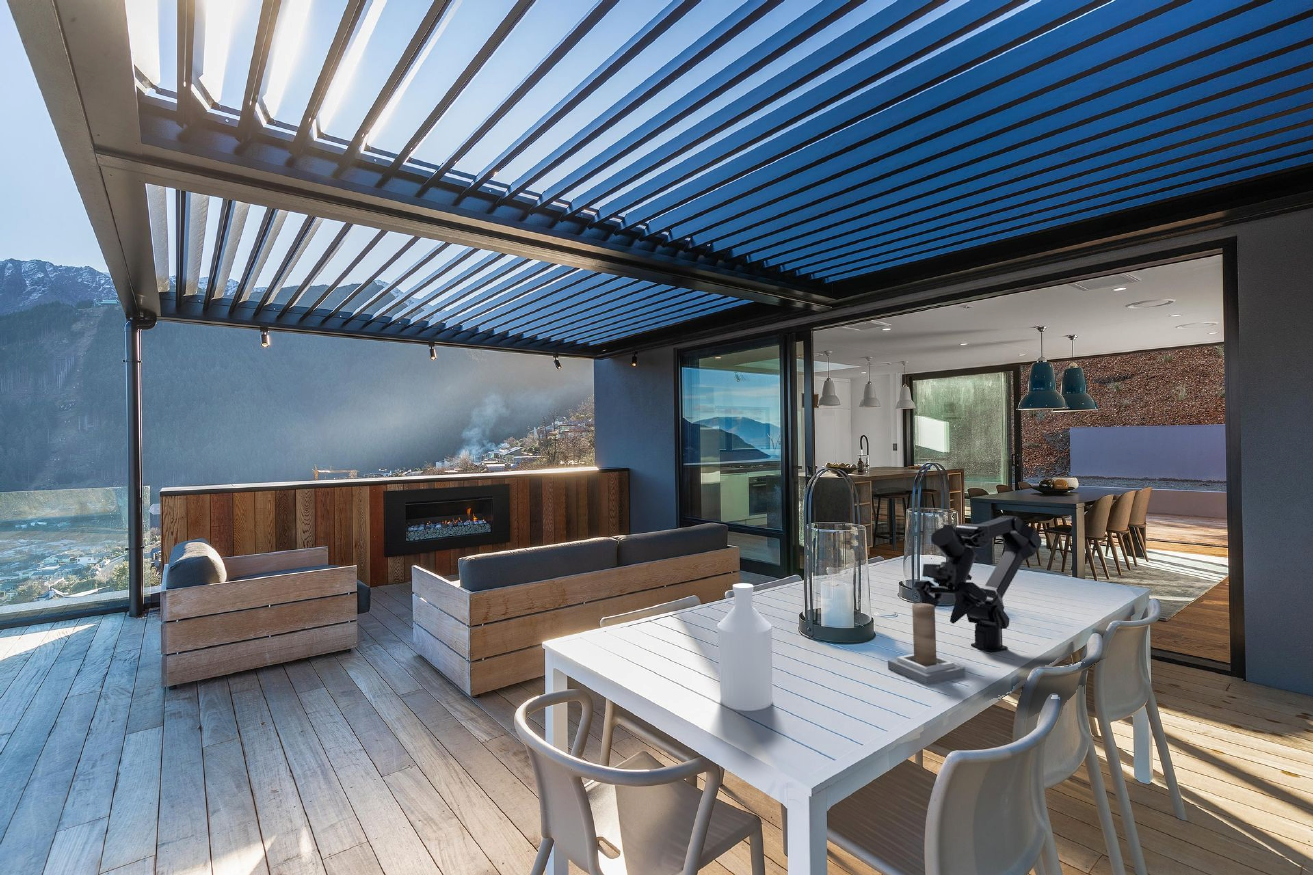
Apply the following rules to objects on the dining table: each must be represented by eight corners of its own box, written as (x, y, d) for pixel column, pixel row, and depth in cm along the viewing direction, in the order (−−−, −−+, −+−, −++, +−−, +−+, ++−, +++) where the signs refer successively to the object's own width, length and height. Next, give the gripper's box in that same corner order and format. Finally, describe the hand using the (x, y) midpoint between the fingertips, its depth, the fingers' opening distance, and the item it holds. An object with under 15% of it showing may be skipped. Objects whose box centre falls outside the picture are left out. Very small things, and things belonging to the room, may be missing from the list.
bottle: (708, 700, 133) (705, 586, 134) (741, 685, 142) (738, 577, 142) (752, 716, 125) (748, 594, 126) (784, 698, 133) (781, 584, 134)
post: (916, 659, 150) (914, 602, 151) (938, 662, 148) (936, 604, 148) (912, 665, 146) (910, 606, 146) (934, 668, 143) (932, 609, 144)
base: (924, 660, 155) (924, 648, 155) (964, 676, 143) (964, 663, 144) (888, 668, 150) (887, 656, 150) (926, 685, 139) (926, 671, 139)
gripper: (909, 550, 165) (888, 601, 159) (965, 549, 148) (943, 606, 142) (938, 573, 167) (918, 623, 161) (997, 574, 149) (976, 631, 144)
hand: (937, 620), depth 152 cm, fingers open, 9 cm apart
